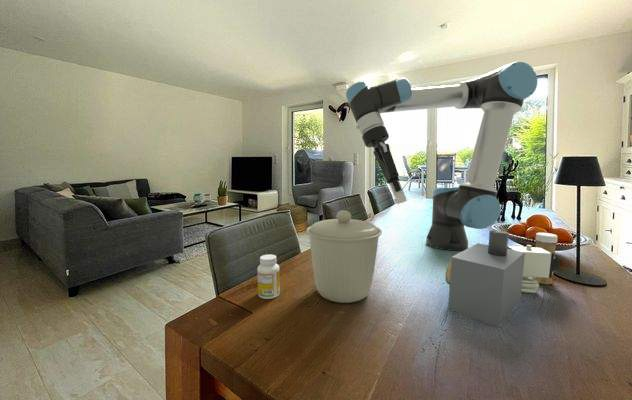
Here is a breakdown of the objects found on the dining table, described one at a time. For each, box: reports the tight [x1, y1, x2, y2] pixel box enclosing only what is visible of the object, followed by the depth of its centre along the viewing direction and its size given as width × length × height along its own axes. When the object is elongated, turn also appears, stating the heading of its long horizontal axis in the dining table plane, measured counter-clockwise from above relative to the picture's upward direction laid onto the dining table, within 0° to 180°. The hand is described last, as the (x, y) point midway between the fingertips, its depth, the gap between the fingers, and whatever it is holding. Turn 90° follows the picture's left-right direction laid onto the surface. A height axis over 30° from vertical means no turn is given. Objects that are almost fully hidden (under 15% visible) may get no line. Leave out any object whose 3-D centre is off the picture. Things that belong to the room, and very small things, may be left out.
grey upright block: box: [487, 229, 509, 256], centre depth 65 cm, size 4×4×5 cm
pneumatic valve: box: [507, 244, 560, 294], centre depth 73 cm, size 6×12×12 cm, turn 78°
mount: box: [447, 243, 525, 328], centre depth 65 cm, size 10×16×12 cm, turn 132°
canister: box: [306, 210, 383, 304], centre depth 70 cm, size 18×18×21 cm
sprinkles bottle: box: [532, 232, 558, 285], centre depth 78 cm, size 5×5×13 cm
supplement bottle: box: [256, 254, 281, 300], centre depth 70 cm, size 5×5×10 cm
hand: (402, 202), depth 84 cm, fingers closed
